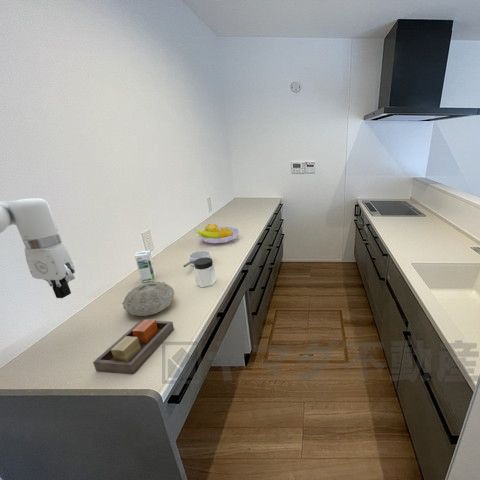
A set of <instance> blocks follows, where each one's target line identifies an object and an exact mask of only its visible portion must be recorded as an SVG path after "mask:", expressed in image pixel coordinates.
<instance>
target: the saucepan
mask: <svg viewBox="0 0 480 480" xmlns="http://www.w3.org/2000/svg"><path fill="white" fill-rule="evenodd" d="M211 254H212V253H211V252H210V250H209V251H208V250H198V251H193V252H191V253H189V254H188V259H189V261H188V262H187V263H185V264H183V266H182V267H183V268H186V267H189V265H190V266H192V267H194V261H195V260H197V259H199V258H204V257H208V258H211Z"/></svg>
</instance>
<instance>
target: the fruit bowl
mask: <svg viewBox="0 0 480 480" xmlns="http://www.w3.org/2000/svg"><path fill="white" fill-rule="evenodd" d="M194 231H195V233H196V234H198V237H199V238H200V239H201V240H202V241H203V242H205V243H208V244H226V243H228V242H231V241H233V240H235V239H236V238H237V237H238V235H239V234H240V230H239V228H237V227H233V226H218V225H217V224H215V223H207V225H206V226H204V230H197V229H195V228H194Z"/></svg>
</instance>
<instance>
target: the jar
mask: <svg viewBox="0 0 480 480" xmlns="http://www.w3.org/2000/svg"><path fill="white" fill-rule="evenodd" d="M193 274H194V279H195V284H196V286H198V287H200V288H207V287H212V286H213V285H214V284H215V283H216V282H217V277H216V269H215V264H214V262H213V258H211V257H210V258H208V257H204V258H199V259H197V260H195V261H194V266H193Z"/></svg>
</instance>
